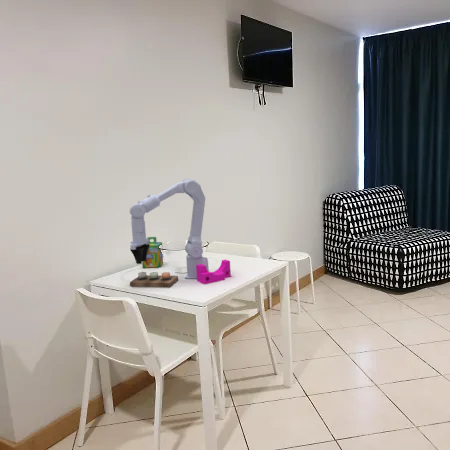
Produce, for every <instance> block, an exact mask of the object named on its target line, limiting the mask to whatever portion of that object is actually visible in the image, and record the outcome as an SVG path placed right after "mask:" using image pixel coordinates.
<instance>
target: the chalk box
mask: <svg viewBox="0 0 450 450" xmlns="http://www.w3.org/2000/svg"><path fill="white" fill-rule="evenodd" d="M146 239H148V240H149V243H146V244H149V245H150V246H149V249H148V252H147V257H146V261H142V265H141V266H142V269H153V268H156V269H160V268H161V267H162V266H163V264H164V255H163V254H162V252H161V250H160V249H159V246H160V245H162V246H163V242H161V241H157V237H156V236H148V237H147V236H146ZM151 240H153V241H151ZM159 267H160V268H159Z"/></svg>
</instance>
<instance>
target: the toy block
mask: <svg viewBox="0 0 450 450" xmlns="http://www.w3.org/2000/svg"><path fill="white" fill-rule="evenodd" d="M208 270H209V269H208ZM208 270H207V269H206V266H205V265H203V264H199V265H196V271H197V278H196V281H197V282H198V283H200V284H202V285H208V284H213V283H216V282H221V281H225V279H227V278H231V277H232V275H231V274H232V273H231V261H230V260H229V259H222V260H221V263H220V265H219V267H218V268H217V269H216V270H215V271H208Z"/></svg>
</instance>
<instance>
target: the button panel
mask: <svg viewBox="0 0 450 450" xmlns="http://www.w3.org/2000/svg"><path fill="white" fill-rule="evenodd" d="M146 275H147V274H146ZM178 281H179V275H170V277H169V278H162V275H158V277H156V278H150V274H148V275H147V276H146V277H143V278H139V277H138V276H137V277H136V278H134V279H132V280H131V281H129V287H132V288H165V287H166V288H167V287H170V288H171V287H172V286H173V285H175V284H176V283H177V282H178Z"/></svg>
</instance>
